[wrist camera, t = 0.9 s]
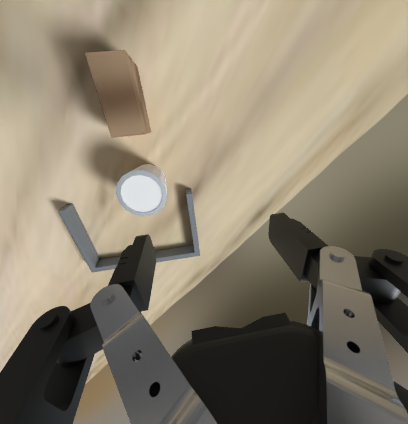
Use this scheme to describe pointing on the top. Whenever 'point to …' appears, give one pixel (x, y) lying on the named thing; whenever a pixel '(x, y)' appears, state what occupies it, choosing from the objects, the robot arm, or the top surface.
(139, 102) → the block
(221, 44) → the top surface
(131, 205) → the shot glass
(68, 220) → the grey u-shaped bracket
